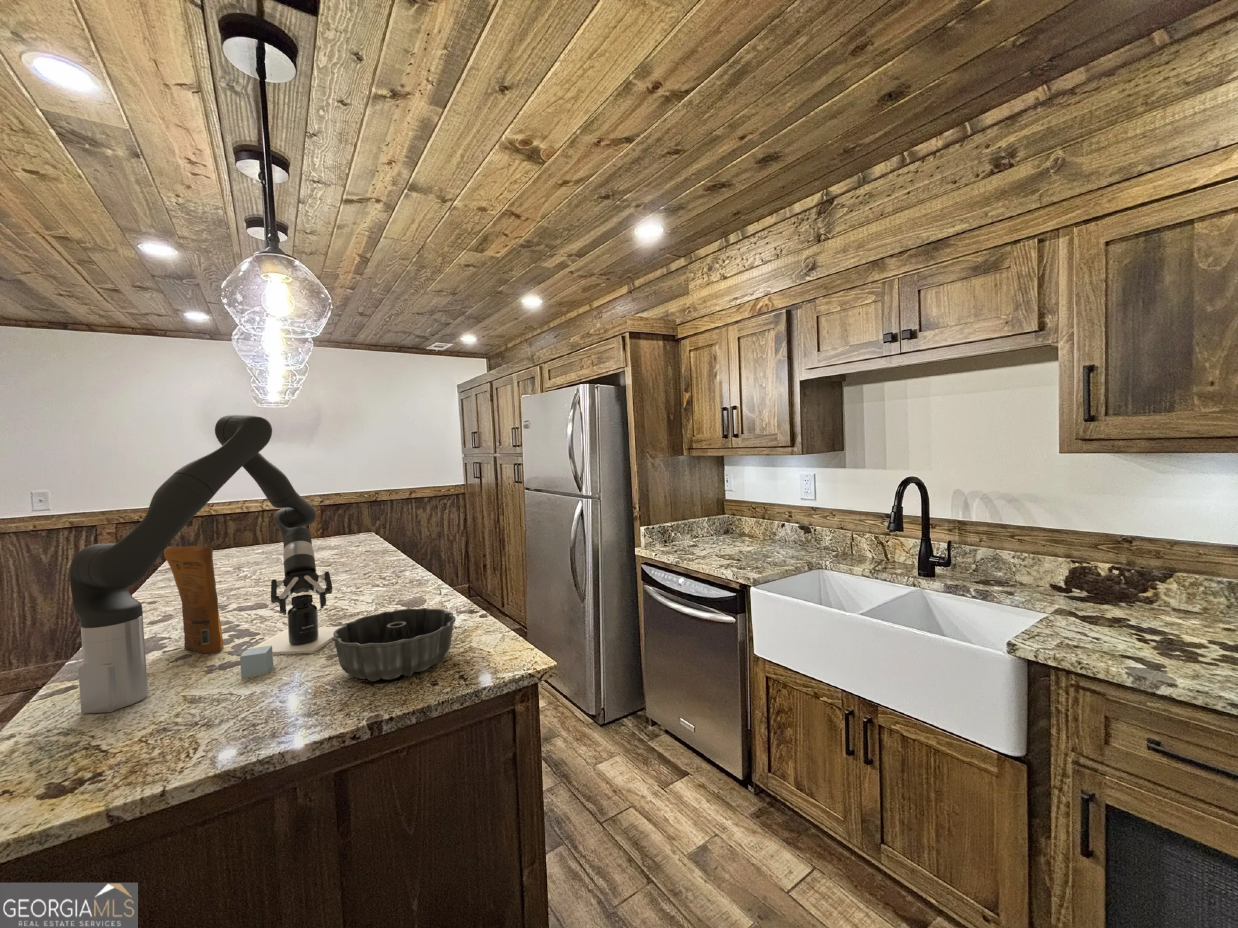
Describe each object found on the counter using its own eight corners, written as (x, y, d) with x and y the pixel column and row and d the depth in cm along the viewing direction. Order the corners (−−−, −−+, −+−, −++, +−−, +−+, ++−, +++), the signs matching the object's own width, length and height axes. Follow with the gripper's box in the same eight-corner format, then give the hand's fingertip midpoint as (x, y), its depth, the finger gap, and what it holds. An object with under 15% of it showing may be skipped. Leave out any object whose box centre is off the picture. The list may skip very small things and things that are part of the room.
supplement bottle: (308, 645, 134) (306, 599, 134) (283, 646, 134) (280, 600, 134) (324, 635, 141) (321, 592, 140) (299, 636, 141) (297, 593, 140)
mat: (312, 653, 130) (312, 650, 130) (241, 656, 130) (241, 653, 130) (349, 628, 148) (349, 625, 148) (287, 631, 148) (286, 628, 148)
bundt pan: (411, 638, 139) (409, 601, 138) (480, 654, 125) (478, 614, 125) (310, 676, 116) (307, 633, 116) (382, 702, 102) (379, 653, 102)
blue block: (267, 674, 119) (265, 652, 119) (241, 678, 117) (240, 656, 117) (273, 665, 124) (272, 645, 123) (248, 669, 122) (247, 648, 122)
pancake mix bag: (204, 658, 130) (197, 548, 129) (167, 648, 139) (160, 545, 138) (234, 649, 136) (227, 543, 135) (197, 639, 145) (190, 540, 144)
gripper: (268, 556, 140) (271, 608, 131) (328, 549, 148) (334, 597, 139) (269, 572, 145) (272, 623, 135) (327, 564, 153) (333, 611, 143)
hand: (303, 610), depth 137 cm, fingers open, 8 cm apart
